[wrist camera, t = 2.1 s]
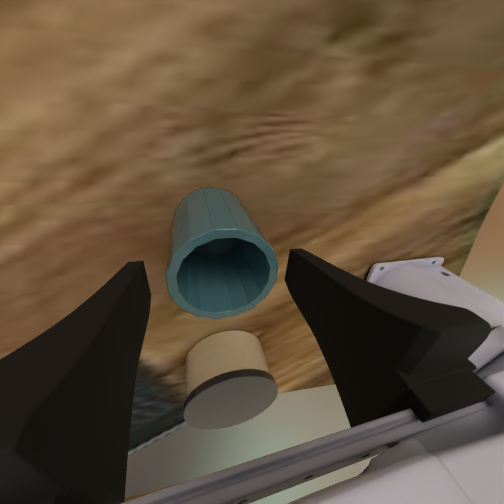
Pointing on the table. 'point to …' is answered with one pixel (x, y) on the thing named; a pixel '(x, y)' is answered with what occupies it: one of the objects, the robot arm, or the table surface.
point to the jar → (227, 380)
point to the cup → (218, 256)
